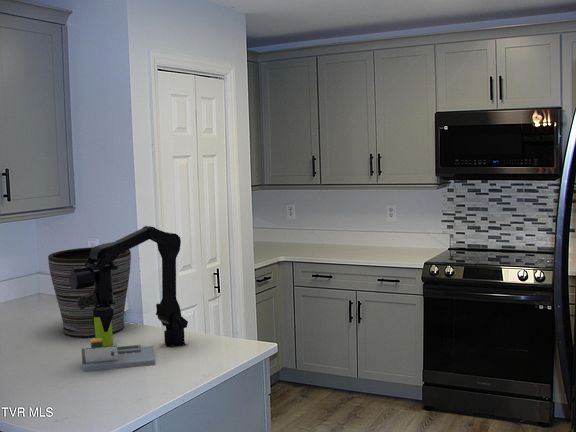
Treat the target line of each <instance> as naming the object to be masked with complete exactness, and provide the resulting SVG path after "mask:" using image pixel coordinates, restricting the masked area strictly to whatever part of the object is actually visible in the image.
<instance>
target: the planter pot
mask: <svg viewBox="0 0 576 432" xmlns="http://www.w3.org/2000/svg"><path fill="white" fill-rule="evenodd" d="M93 247H94V246H91V247H81V248H80V247H79V248H78V247H77V248H72V249H64V250H59V251H56V252H52V253H50V254H49V255H48V257H47V260H48V261H47V262H48V268H49V269H48V270H49V273H50V274H49V275H50V279H51V282H52V286H53V289H54V294H55V297H56V300H57V303H58V308H59V312H60V316H61V321H62V326H63V334H64V336H66V337H69V338H73V339H95V338H96V337H95V323H94V316H93V310H94V308H95V307H96V306H94V304H92V305H90V306H88V307H85V308H84V309H82V310H80V308H79V306H78V304H77V299H78V298H80V297H82V296H84V295H87V294H89V293H92V292H93V290H94V285H92V287H87V288H81V289H76V290H73V289H72V288H71V286H70V283H69V277H70V273H71V272H72V268H80V267H84V264H85V263H86V261H87V259H88V258H89V256H90V252H91V249H92V248H93ZM131 260H132V253H131V249H129V250H127V251H125V252H123V253H122V254H120V255H119V257H118V258H117V259H116V260H114V261H113V262H112V263H113V264H114V265H115V266H116V267H118V269H117V270H112V284H113V296H114V297H115V305H113V304H110V305H112V306H113V307H114V308H115V309H114V316H113V317H112V334H113V335H116V334H118V333H120V332H121V331H123V330H124V329H125V310H126V308H125V307H126V300H127V294H128V287H129V280H130V273H131V264H132V263H131ZM94 264H96V263H94Z"/></svg>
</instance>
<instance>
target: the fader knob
mask: <svg viewBox="0 0 576 432" xmlns="http://www.w3.org/2000/svg"><path fill="white" fill-rule="evenodd" d="M90 339H91V340H90V348H96V347H103V341H102V338H90Z"/></svg>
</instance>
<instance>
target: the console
mask: <svg viewBox="0 0 576 432" xmlns="http://www.w3.org/2000/svg"><path fill="white" fill-rule="evenodd" d="M85 349H86V347H85V348H84V347H83V348H81V361H82V362H81V363H82V365H83V366H82V367H83V369H82V370H83V372H94V371H103V370H114V369H123V368H124V369H125V368H136V367H144V366H146V367H147V366H155V365H156V362H155V361H156V360H155V353H154V351H155V350H154V346H153V345H149V346H147V345H146V346H141V344H134V345H133V344H131V345H123V346H117V351H118V360H114V361H104V362H93V363H86V352H85Z"/></svg>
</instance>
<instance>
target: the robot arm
mask: <svg viewBox="0 0 576 432" xmlns="http://www.w3.org/2000/svg"><path fill="white" fill-rule="evenodd" d="M181 239H182V238H181V236H179V235H178V234H177V233H173V232H167V231H163V230H160V229H158V228H157V227H155V226H150V225H145V226H143V227H142V228H140V229H138V230H136V231H134V232H132V233H130V234H127V235H126V236H123V237H121V238H120V239H117V240H115V241H112V242H105V243H102V244H98V245H95V246H92V247H93V248H92V249H91V252H90V256H89V258H88V259H87V261H86V263H85V264H84V267H80V268H72V272H71V273H70V277H69V283H70V286H71V288H72V289H73V290H76V289H81V288H87V287H92V285H94V290H93V292H92V293H89V294H87V295H84V296H82V297H80V298H78V299H77V304H78V306H79V308H80V310H82V309H84V308H85V307H88V306H90V305H92V304H94V306H96V307H95V308H94V310H93V316H94V317H100V319H101V323H102V326H103V329H104V332H108V329H109V326H110V323H111V320H112V317H113V316H114V309H115V308H114V307H113V306H112V305H110V304H113V305H115V297H114V296H113V284H112V270H117V269H118V267H116V266H115V265H114V264H113V263H112V262H113V261H114V260H116V259H117V258H118V257H119V255H120V254H122V253H123V252H125V251H127V250H131V249H134V248H135V247H137V246H138V245H140V244H143V243H145V242H146V241H149V240H150V241H151V242H154V243H156V245H157V250H158V252H159V255H160V257H161V294H162V296H161V300H160V302H159V303H156V305H155V307H156V313H155V315H156V316H157V319H158V320H159V321H160V322H161V324H162V326H164V327H165V330H164V331H163V336H164V337H163V338H164V339H163V340H164V344H165V345H166V347H177V346H186V342H185V339H186V338H185V329H186V328H188V323H189V321H188V320H187V319H185V318H184V317H183V316H182V312H181V306H180V304H179V301H178V300H177V257H178V255H179V253H180V251H181V246H182V245H181V243H182V241H181ZM94 263H96V264H94Z"/></svg>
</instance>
